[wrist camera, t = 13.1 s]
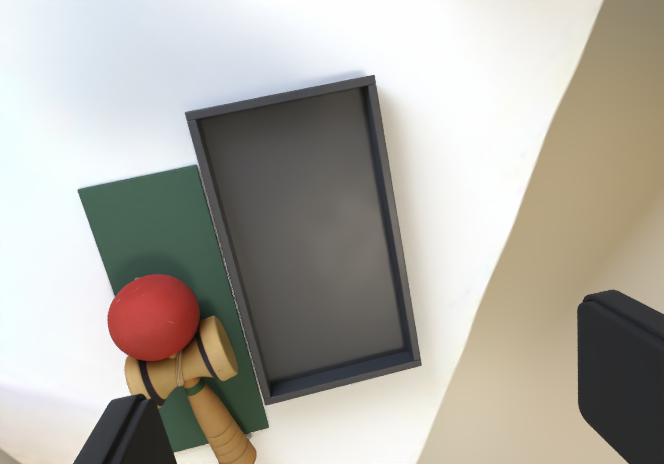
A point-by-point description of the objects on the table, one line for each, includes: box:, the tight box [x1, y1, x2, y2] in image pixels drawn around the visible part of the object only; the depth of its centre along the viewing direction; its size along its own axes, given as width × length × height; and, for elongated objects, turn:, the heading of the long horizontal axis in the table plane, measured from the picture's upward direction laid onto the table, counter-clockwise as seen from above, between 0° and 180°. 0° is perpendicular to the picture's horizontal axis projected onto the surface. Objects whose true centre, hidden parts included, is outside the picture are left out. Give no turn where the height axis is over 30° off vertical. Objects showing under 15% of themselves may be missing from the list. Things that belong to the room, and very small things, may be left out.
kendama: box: [108, 274, 256, 464], centre depth 32 cm, size 8×6×18 cm
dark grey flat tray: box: [185, 75, 422, 405], centre depth 33 cm, size 23×13×2 cm, turn 11°
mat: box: [78, 165, 269, 453], centre depth 33 cm, size 23×8×1 cm, turn 11°
